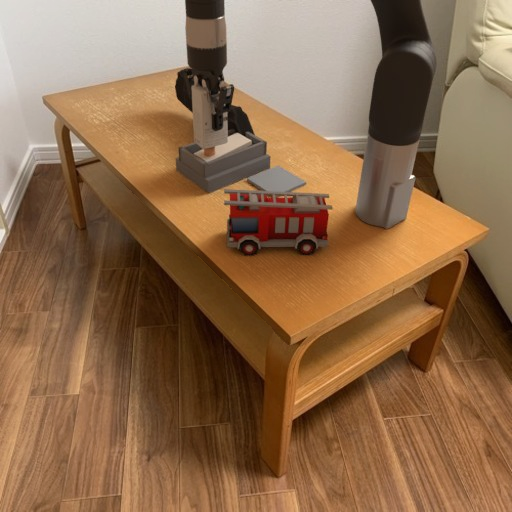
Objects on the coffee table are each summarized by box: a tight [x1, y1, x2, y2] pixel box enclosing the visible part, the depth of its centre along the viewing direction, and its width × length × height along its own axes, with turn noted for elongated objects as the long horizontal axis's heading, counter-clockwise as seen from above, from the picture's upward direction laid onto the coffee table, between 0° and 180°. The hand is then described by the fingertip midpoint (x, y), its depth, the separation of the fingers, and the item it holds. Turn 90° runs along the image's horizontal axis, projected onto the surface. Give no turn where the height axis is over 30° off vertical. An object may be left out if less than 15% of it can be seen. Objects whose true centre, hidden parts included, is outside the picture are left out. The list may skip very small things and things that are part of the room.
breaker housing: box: [174, 129, 272, 194], centre depth 121 cm, size 17×12×6 cm
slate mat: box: [246, 165, 307, 198], centre depth 118 cm, size 9×9×1 cm
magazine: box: [174, 69, 256, 137], centre depth 132 cm, size 17×3×30 cm
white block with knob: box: [194, 133, 252, 162], centre depth 119 cm, size 12×5×2 cm, turn 130°
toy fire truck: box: [223, 188, 333, 257], centre depth 99 cm, size 9×19×10 cm, turn 92°
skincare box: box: [191, 85, 228, 149], centre depth 112 cm, size 6×4×12 cm
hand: (209, 125), depth 113 cm, fingers closed on skincare box, 4 cm apart
